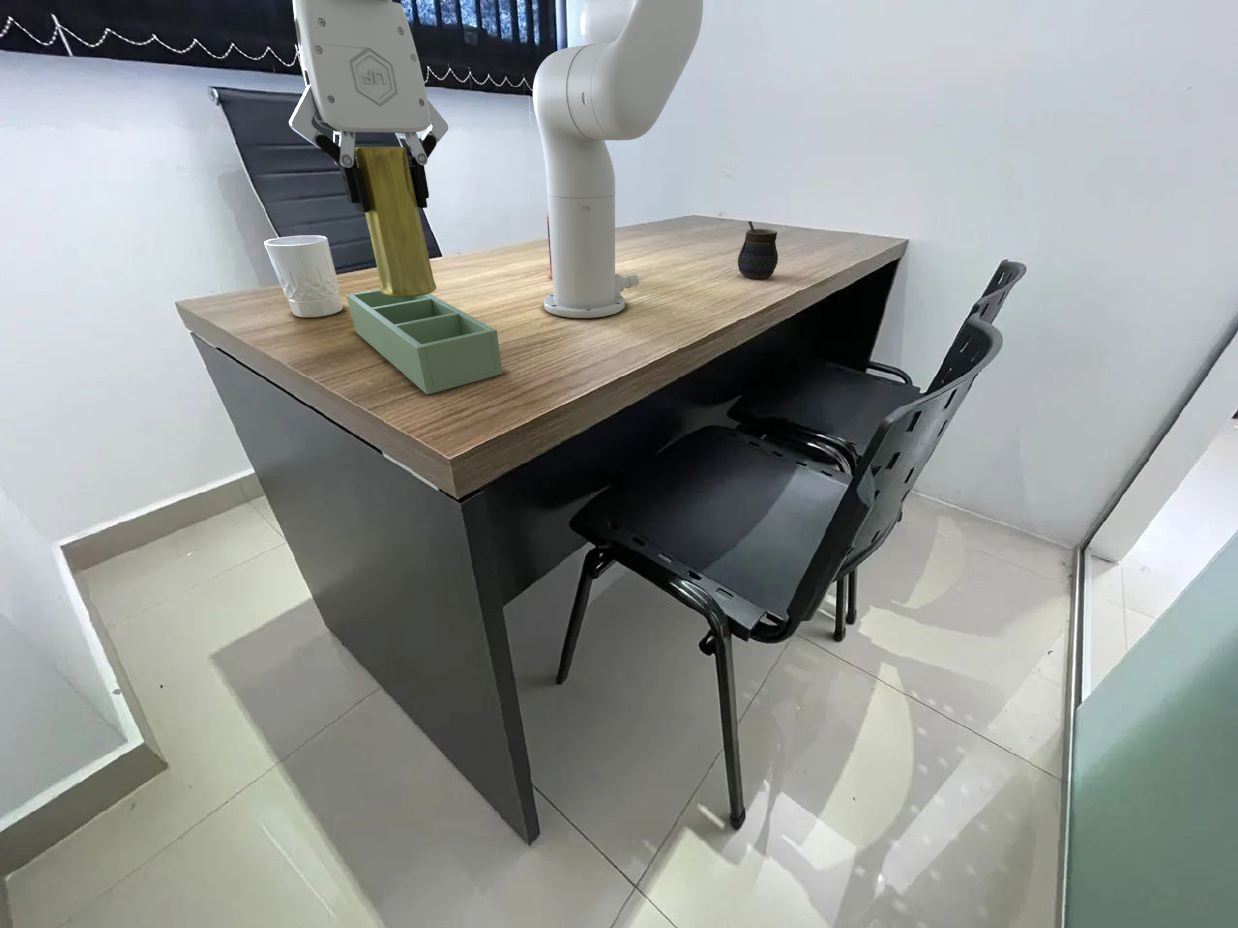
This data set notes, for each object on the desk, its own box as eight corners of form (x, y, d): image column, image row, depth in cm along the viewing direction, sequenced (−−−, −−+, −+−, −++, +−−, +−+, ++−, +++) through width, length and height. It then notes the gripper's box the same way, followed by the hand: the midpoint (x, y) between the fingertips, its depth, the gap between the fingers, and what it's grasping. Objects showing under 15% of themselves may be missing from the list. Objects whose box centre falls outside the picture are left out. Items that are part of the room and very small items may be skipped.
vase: (436, 296, 58) (409, 148, 50) (378, 300, 56) (341, 148, 49) (436, 283, 63) (411, 146, 55) (383, 286, 61) (349, 146, 54)
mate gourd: (782, 276, 97) (792, 219, 92) (762, 284, 93) (772, 223, 87) (748, 270, 101) (756, 215, 96) (728, 277, 96) (735, 219, 91)
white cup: (324, 321, 73) (300, 246, 68) (276, 317, 75) (249, 244, 69) (358, 305, 80) (339, 236, 74) (313, 302, 81) (292, 234, 76)
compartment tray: (420, 320, 74) (412, 284, 71) (502, 374, 58) (497, 330, 55) (356, 332, 69) (345, 294, 67) (427, 395, 53) (416, 348, 51)
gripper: (235, -48, 38) (313, 220, 48) (453, -13, 47) (481, 206, 57) (222, -29, 43) (295, 211, 53) (422, 0, 52) (453, 200, 62)
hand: (391, 207), depth 55 cm, fingers closed on vase, 5 cm apart
